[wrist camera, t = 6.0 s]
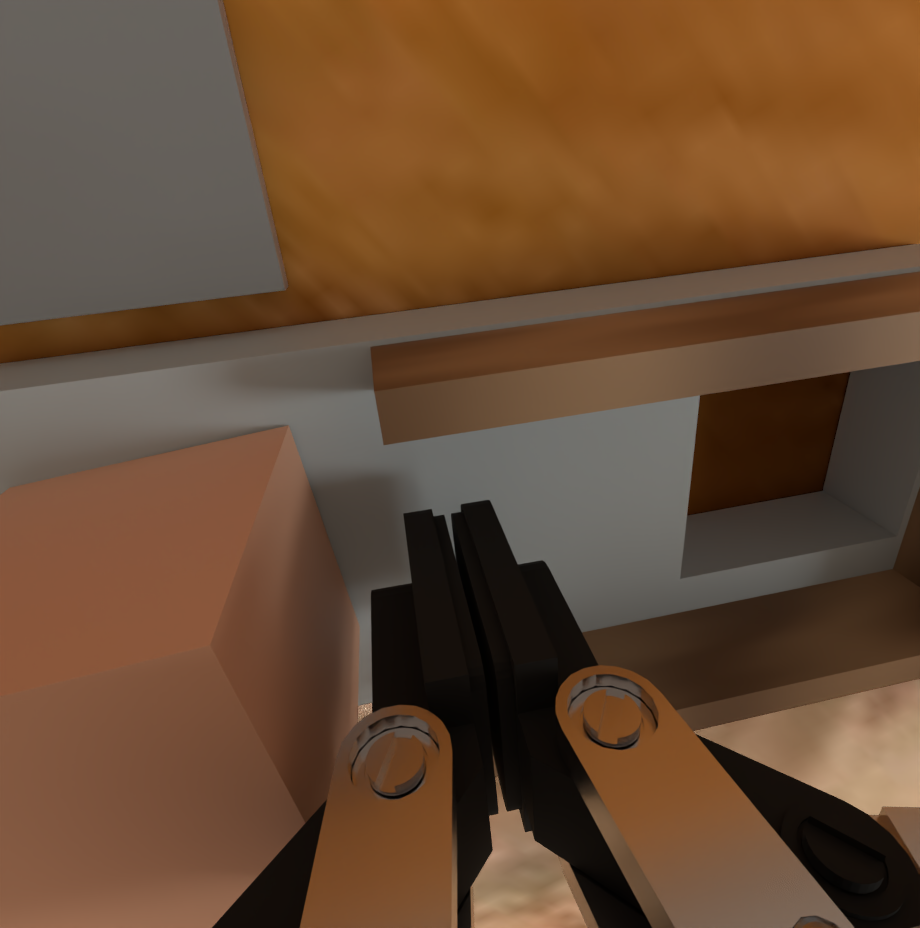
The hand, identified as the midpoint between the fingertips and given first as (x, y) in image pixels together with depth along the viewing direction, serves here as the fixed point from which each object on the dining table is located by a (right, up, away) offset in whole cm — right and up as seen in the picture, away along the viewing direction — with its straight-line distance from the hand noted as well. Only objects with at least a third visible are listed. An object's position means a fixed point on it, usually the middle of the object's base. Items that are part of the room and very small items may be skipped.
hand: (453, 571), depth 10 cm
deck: (+1, +2, +4) cm, 4 cm away
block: (-5, 0, +1) cm, 5 cm away
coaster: (-7, +8, -1) cm, 10 cm away
